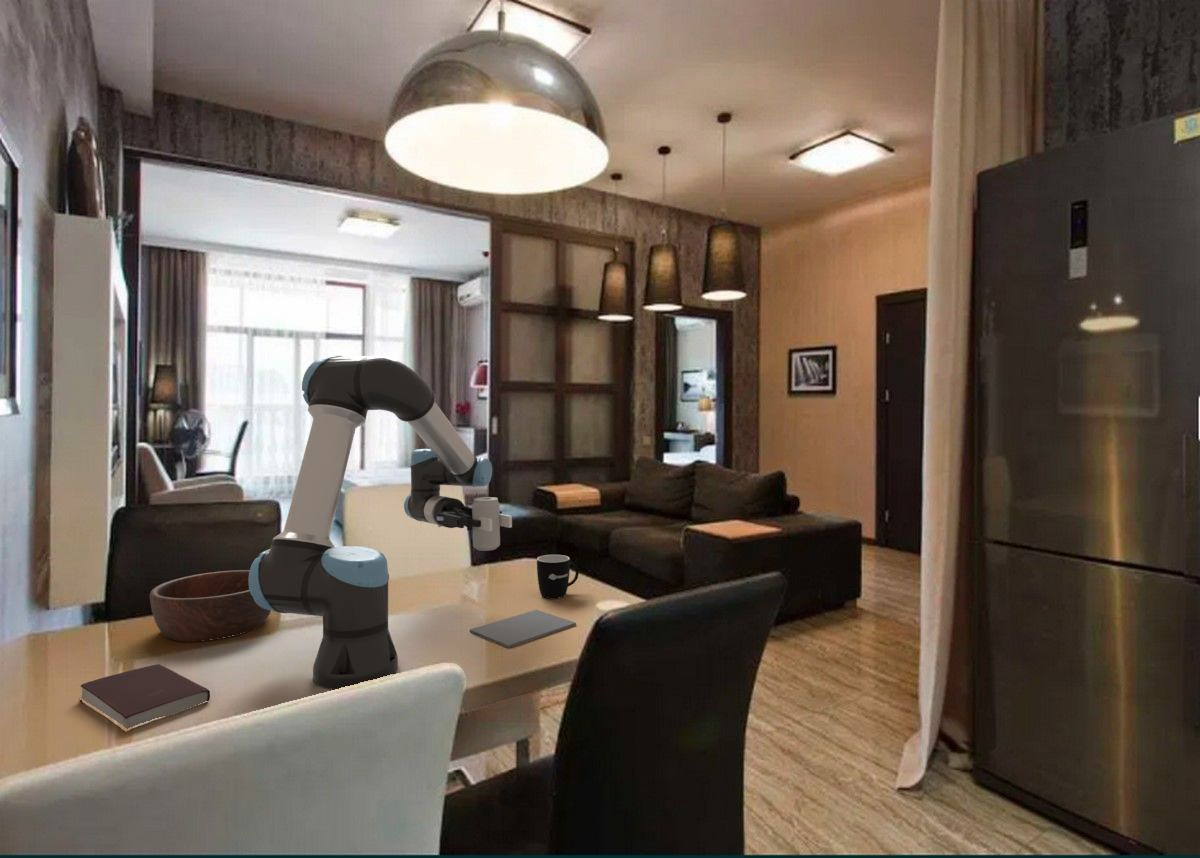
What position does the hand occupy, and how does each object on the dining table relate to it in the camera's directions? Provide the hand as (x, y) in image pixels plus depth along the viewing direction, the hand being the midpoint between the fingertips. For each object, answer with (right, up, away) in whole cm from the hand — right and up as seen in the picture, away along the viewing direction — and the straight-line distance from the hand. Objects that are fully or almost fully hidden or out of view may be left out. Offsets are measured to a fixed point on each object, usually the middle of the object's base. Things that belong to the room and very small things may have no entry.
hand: (500, 523), depth 148 cm
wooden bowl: (-65, -24, -2) cm, 69 cm away
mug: (+12, -23, +26) cm, 37 cm away
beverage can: (-4, -7, +4) cm, 9 cm away
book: (-55, -25, -39) cm, 72 cm away
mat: (+6, -24, -2) cm, 25 cm away
